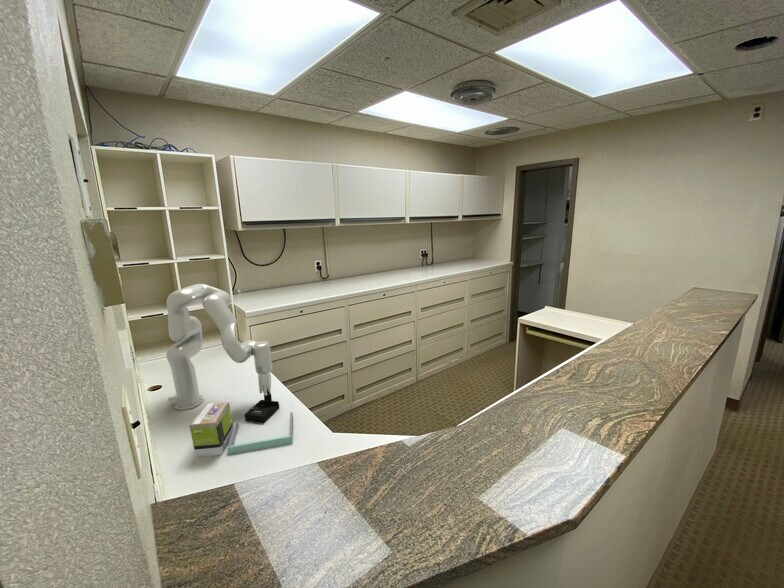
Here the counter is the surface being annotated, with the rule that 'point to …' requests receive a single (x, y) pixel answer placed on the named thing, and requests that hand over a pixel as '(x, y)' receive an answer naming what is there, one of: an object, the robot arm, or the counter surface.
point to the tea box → (212, 429)
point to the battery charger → (262, 411)
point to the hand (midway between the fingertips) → (268, 402)
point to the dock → (258, 444)
